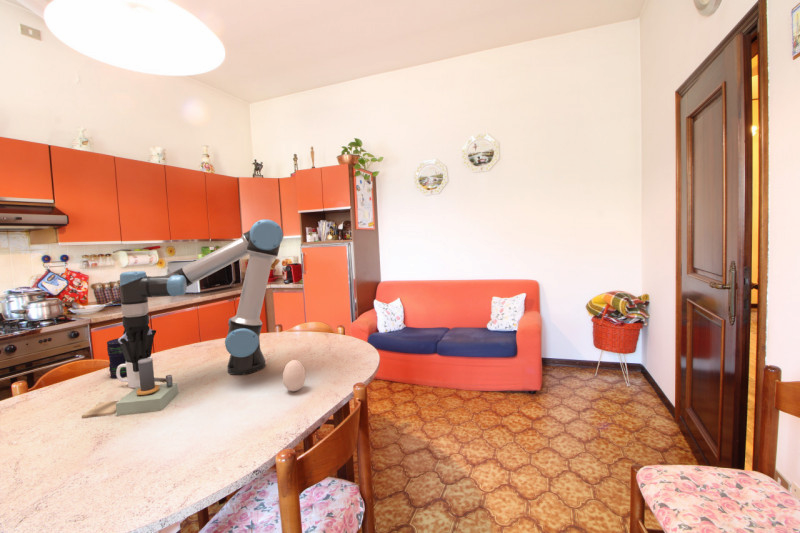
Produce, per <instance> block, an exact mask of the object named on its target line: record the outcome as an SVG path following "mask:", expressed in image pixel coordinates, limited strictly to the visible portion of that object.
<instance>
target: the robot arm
mask: <svg viewBox="0 0 800 533" xmlns="http://www.w3.org/2000/svg"><path fill="white" fill-rule="evenodd" d="M283 238H284V233H283V230H282V227H281V225H280V224H278V223H277V222H276V221H275V220H271V219H266V218H265V219H260V220H258V221H256V222H255V223H253V225H252V226H251V227H250V229H249V230H248V231H245V232H244V233H242V234H241V237H240V238H237V239H236V240H234V241H232V242H230V243H227V244H226V245H224V246H222V247H220V248H218V249H215V250H213V252H210V253H208V254H206V255H204V256H203V257H200V258H198V259H197V260H194V261H192V262H191V263H189V264H186V265H184V266H183V267H181V268H179V269H177V270H174V271H173V272H170V273H169V274H166V275H159V276H158V275H155V276H154V275H153V276H148V275H147V273H146V271H145V270H144V271H143V270H140V271H139V270H136V271H135V270H133V271H123V272H122V273H120V275H119V286H118V287H119V291H120V300H121V301H120V302H121V304H120V305H121V306H120V307H121V315H122V316H123V317H122V318H121V319H122V327H123V332H122V335H121V337H118V338H116V339H117V340H116V341H117V342H118V343H119V344H120V346H121V349H122V352H123V355H124V357H125V360H126V362H127V363H132V364H133V371H134V372H135V380H140V377H139V367H138V361H139V360H141V359H145V358H148V357H150V356H152V352H153V345H154V338H155V335H156V333H157V330H156V329H152V328H150V326H149V324H150V315H149V314H148V313H149V309H150V308H149V300H148V298H159V297H176V296H177V297H178V296H183V295H185V294H186V292H187V287H189V286H192V285H193V284H194V283H196V282H197V283H198V282H199V281H201V280H202V279H204V278H206V277H209V276H210V275H213V274H214V273H216V272H218V271H220V270H222V269H223V268H225V267H227V266H229V265H231V264H233V263H235V262H237V261H239V260H240V259H243V258H244V257H246V256H248V255H249V258H248V263H247V266H246V271H245V275H244V280H243V284H242V289H241V293H240V296H239V302H238V306H237V311H236V314H235V316H232V317H230V318H229V319H228V322H227V323H228V324H227V325H228V331H227V335H226V337H225V339H224V340H225V341H224V344H225V349H226V351H227V353H229V354H230V355H229V360H228V362H227V366H226V367H227V368H226V370H227V372H228V374H230V375H235V376H236V375H237V376H239V375H240V376H241V375H248V374H252V373H256V372H258V371H261V370H263V369H264V368H265V367H266V359H265V357H264V354H263V352H262V349H261V340H260V336H261V332H262V328H263V327H262V326H263V322H262V320H261V319H260V316H261V313H262V309H263V306H264V305H263V304H264V299H265V295H266V291H267V287H268V283H269V282H268V281H269V277H270V274H271V273H270V272H271V269H272V264H273V260H274V259H276V258H278V255H279V250H280V247H281V243H282V241H283ZM127 339H128V340H129V343H128V342H127V341H128V340H127ZM129 344H130V346H129Z"/></svg>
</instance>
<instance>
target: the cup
mask: <svg viewBox="0 0 800 533" xmlns="http://www.w3.org/2000/svg"><path fill="white" fill-rule="evenodd" d="M148 358H152V359H153V357H152V355H151V356H150V357H148ZM121 367H126V370H127V377H126V378H121V376H120V369H121ZM116 375H117V378H118V379H117V380H119V381H120V382H121V383H127V386H128V387H129V388H132V389H135V388H137V387H140V380H135V372H134V371H133V364H132V363H127V362H126V364H121V365H119V366H118V367H117V370H116Z"/></svg>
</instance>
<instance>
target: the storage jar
mask: <svg viewBox="0 0 800 533" xmlns="http://www.w3.org/2000/svg"><path fill="white" fill-rule="evenodd" d="M116 340H117V338H114V339H111V340H108V341H107V342H106V346H107V349H106V350H107V355H108V359H109V365H108V366H109V374H110V375H109V376H110V378H111V379H115V380H118V378H117V375H116V370H117V367H118V366H119V365H121V364H126V360H125V357H124V355H123V352H122V349H121V346H120V344H119V343H118V342H117V341H116ZM127 340H128V339H127ZM127 342H128V343H129V340H128V341H127ZM129 346H130V344H129ZM120 376H121V378H123V379H125V378H127V370H126V367H121V369H120Z"/></svg>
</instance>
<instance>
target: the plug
mask: <svg viewBox="0 0 800 533" xmlns="http://www.w3.org/2000/svg"><path fill="white" fill-rule="evenodd" d="M153 362H154V361H153V357H152V358H145V359H141V360H139V361H138V367H139V377H140V387H141V388H140V389H138V390H137V391H136V392H137V395H141V396H146V395H153V394H154V393H155V392H156V391H158V390H159V385H160V384H156V383H155V381H154V378H155V373H154V365H153V364H154V363H153Z"/></svg>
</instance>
